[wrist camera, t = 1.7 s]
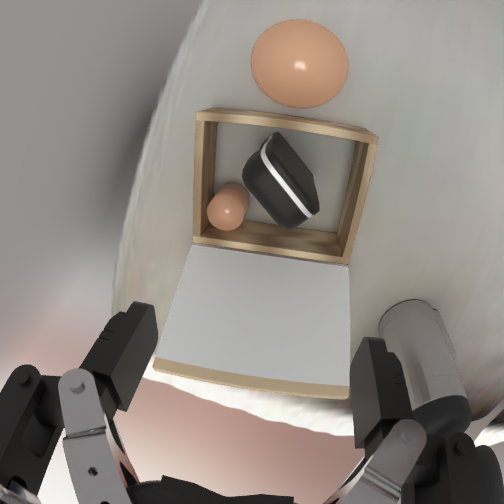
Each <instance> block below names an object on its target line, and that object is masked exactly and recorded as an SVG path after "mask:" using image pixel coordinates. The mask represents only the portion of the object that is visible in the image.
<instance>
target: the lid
mask: <svg viewBox="0 0 504 504" xmlns="http://www.w3.org/2000/svg"><path fill="white" fill-rule="evenodd" d="M152 367H153V369H154V370H155V371H159V372H163V373H167V374H172V375H176V376H180V377H185V378H189V379H194V380H199V381H204V382H209V383H214V384H219V385H225V386H230V387H236V388H242V389H249V390H256V391H263V392H270V393H278V394H287V395H296V396H306V397H318V398H332V399H346V398H348V397H349V374H350V294H349V269H348V267H344V266H337V265H330V264H323V263H316V262H309V261H302V260H295V259H288V258H281V257H274V256H267V255H260V254H254V253H247V252H240V251H233V250H226V249H219V248H212V247H205V246H198V245H192V246H191V249H190V251H189V254H188V257H187V260H186V263H185V266H184V269H183V271H182V274H181V277H180V280H179V283H178V286H177V289H176V292H175V295H174V298H173V301H172V304H171V308H170V311H169V314H168V317H167V320H166V323H165V327H164V330H163V333H162V336H161V339H160V343H159V346H158V349H157V353H156V356H155V360H154V363H153V366H152Z"/></svg>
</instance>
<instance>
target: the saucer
mask: <svg viewBox="0 0 504 504" xmlns="http://www.w3.org/2000/svg"><path fill="white" fill-rule="evenodd" d="M251 65H252V71H253V75H254V78H255V80H256V82H257V83H258V85H259V87H260V88H261V89H262V90H263V91H264V92H265V93H266V95H268V96H269V97H270V98H271V99H273V100H275V101H276V102H278V103H281V104H283V105H286V106H289V107H294V108H310V107H315V106H319V105H321V104H324V103H326V102H327V101H329V100H331V99H332V98H333V97H335V96H336V95H337V93H338V92H339V91H340V90H341V89H342V87H343V85H344V83H345V81H346V78H347V74H348V58H347V54H346V51H345V49H344V47H343V45H342V43H341V42H340V40H339V39H338V38H337V37H336V36H335V35H334V34H333V33H332V32H331V31H330V30H328V29H327V28H325V27H323V26H321V25H319V24H317V23H314V22H311V21H306V20H289V21H284V22H281V23H278V24H276V25H274V26H272V27H270V28H269V29H268V30H266V31H265V32H264V33H263V34H262V35H261V36H260V38H259V39H258V40H257V42H256V44H255V46H254V49H253V52H252V57H251Z"/></svg>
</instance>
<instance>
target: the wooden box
mask: <svg viewBox="0 0 504 504" xmlns="http://www.w3.org/2000/svg"><path fill="white" fill-rule="evenodd" d="M217 122H230V123H242V124H252V125H261V126H270V127H278V128H285V129H293V130H299V131H306V132H312V133H318V134H324V135H330V136H335V137H341V138H346V139H351V140H356V147H355V152H354V157H353V162H352V168H351V173H350V178H349V182H348V187H347V192H346V197H345V201H344V206H343V210H342V214H341V219H340V223H339V227H338V232H337V234H333V233H327V232H321V231H314V230H307V229H301V228H291V229H285V228H283V227H281V226H280V225H273V224H266V223H259V222H252V221H244V220H243V221H242V223H241V225H240V226H239V227H237V228H236V229H234V230H230V231H224V230H220V229H218V228H216V227H215V226H213V225H212V224H211V222H210V221H209V219H208V216H207V208H208V205H209V203H210V202H211V200H212V199H213V189H214V169H215V151H216V135H217ZM378 138H379V137H378V136H376V135H375V134H373V133H371V132H370V131H368V130H366V129H363V128H358V127H354V126H349V125H344V124H339V123H333V122H328V121H322V120H316V119H310V118H304V117H297V116H290V115H282V114H274V113H266V112H256V111H246V110H234V109H220V108H210V109H206V110H202V111H199V112H197V114H196V134H195V158H194V197H193V242H194V243H201V244H208V245H215V246H222V247H229V248H236V249H243V250H250V251H257V252H264V253H271V254H278V255H284V256H291V257H298V258H305V259H312V260H319V261H326V262H333V263H340V264H347V265H348V262H349V259H350V255H351V252H352V248H353V245H354V241H355V237H356V234H357V230H358V226H359V222H360V219H361V215H362V211H363V207H364V203H365V198H366V194H367V190H368V186H369V181H370V177H371V172H372V168H373V163H374V158H375V153H376V148H377V143H378Z"/></svg>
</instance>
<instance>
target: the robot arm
mask: <svg viewBox="0 0 504 504" xmlns="http://www.w3.org/2000/svg"><path fill="white" fill-rule="evenodd" d="M379 333H380V338H374V337H364V338H363V339H362V341H361V344H360V346H359V348H358V350H357V352H356V354H355V356H354V358H353V360H352V363H351V366H350V374H349V377H350V387H351V398H352V409H353V422H354V437H355V448H356V449H357V448H365V456H364V457H363V458H362V459H361V461H360V462H359V463H358V465H357V466H356V467H355V468H354V470H353V471H352V472H351V474H350V475H349V476H348V477H347V478H346V480H345V481H344V482H343V483H342V484H341V485H340V487H339V488H338V489H337V490H336V491H335V492H334V493H333V494H332V495H331V496H330V497H329V498H328V499H327V500H326V501H325V502H324V503H323V504H397V502H398V500H399V498H400V497H401V504H504V486H503V479H502V474H501V469H500V465H499V463H498V460H497V457H496V455H495V453H494V452H493V450H492V449H491V448H490V447H488V446H486V445H481V446H478V447H475V445H474V442H473V440H472V439H471V437H470V436H468V435H467V434H465V433H464V432H465V431H466V429H467V428H468V427H469V425H470V423H471V420H472V412H471V408H470V405H469V402H468V399H467V396H466V393H465V390H464V387H463V384H462V382H461V379H460V376H459V373H458V371H457V368H456V365H455V363H454V359H455V358H456V351H455V349H454V346H453V344H452V342H451V339H450V337H449V335H448V332H447V330H446V328H445V326H444V324H443V321H442V319H441V317H440V315H439V313H438V311H437V310H433V309H432V308H431V307H430V306H429V304H427V303H426V302H423V301H420V300H409V301H405V302H402V303H400V304H397V305H396V306H394V307H392V308H391V309H390V310H389V311H387V313H386V314H385V315H384V316H383V318H382V319H381V321H380V324H379ZM157 341H158V329H157V323H156V316H155V310H154V306H153V305H150V304H146V303H141V302H136V301H134V302H133V303H132V304H131V306H130V307H129V309H128V310H127V312H126V313H125V312H121V311H120V312H119V313H118V314H116V315H115V316H113V317H112V318H111V319H110V320H109V322H108V323H107V325H106V326H105V328H104V331H102V332H101V334H100V335H99V338H98V339H97V340H96V342H95V343H94V345H93V347H92V348H91V350H90V351H89V353H88V355H87V356H86V358H85V359H84V361H83V363H82V364H81V366H80V367H79V368H78V369H72V370H70V371H67V372H66V373H65V374H63V376H61V377H60V376H46V375H41V374H40V373H39V371H38V370H37V369H36V367H34V366H32V365H22V366H19V367H17V368H16V369H15V370H14V371H13V372H12V374H11V375H10V377H9V379H8V380H7V382H6V384H5V385H4V387H3V389H2V390H1V392H0V504H41V502H40V500H39V499H38V497H37V495H38V492H39V489H40V486H41V484H42V481H43V478H44V475H45V473H46V470H47V467H48V465H49V462H50V460H51V457H52V455H53V452H54V449H55V447H56V444H57V442H58V440H59V437H60V435H61V433H62V430H63V428H65V430H66V437H64V438H63V448H64V452H65V456H66V460H67V464H68V468H69V472H70V476H71V479H72V483H73V486H74V490H75V493H76V496H77V499H78V502H79V504H297V503H294V502H293V501H294V497H290V496H276V495H265V494H258V495H249V496H235V497H226V496H222V495H220V494H217V493H215V492H213V491H210V490H208V489H206V488H204V487H202V486H199V485H197V484H195V483H191V482H188V481H183V480H179V479H175V478H172V477H168V476H164V475H163V476H162V479H161V481H158V480H156V481H146V482H141V483H140V482H139V479H138V477H137V474H136V472H135V470H134V468H133V466H132V464H131V462H130V461H129V458H128V456H127V453H126V451H125V448H124V445H123V442H122V439H121V436H120V434H119V431H118V428H117V425H116V421H115V418H114V415H115V413H116V411H117V409H119V410H122V411H125V412H127V410H128V407H129V405H130V403H131V401H132V398H133V396H134V394H135V391H136V389H137V387H138V385H139V383H140V380H141V378H142V376H143V374H144V371H145V369H146V367H147V365H148V363H149V361H150V358H151V356H152V354H153V352H154V350H155V348H156V345H157ZM400 489H401V492H400Z"/></svg>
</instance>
